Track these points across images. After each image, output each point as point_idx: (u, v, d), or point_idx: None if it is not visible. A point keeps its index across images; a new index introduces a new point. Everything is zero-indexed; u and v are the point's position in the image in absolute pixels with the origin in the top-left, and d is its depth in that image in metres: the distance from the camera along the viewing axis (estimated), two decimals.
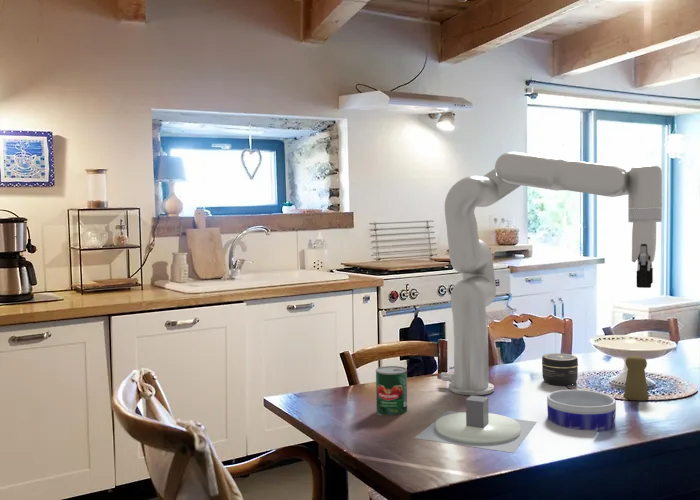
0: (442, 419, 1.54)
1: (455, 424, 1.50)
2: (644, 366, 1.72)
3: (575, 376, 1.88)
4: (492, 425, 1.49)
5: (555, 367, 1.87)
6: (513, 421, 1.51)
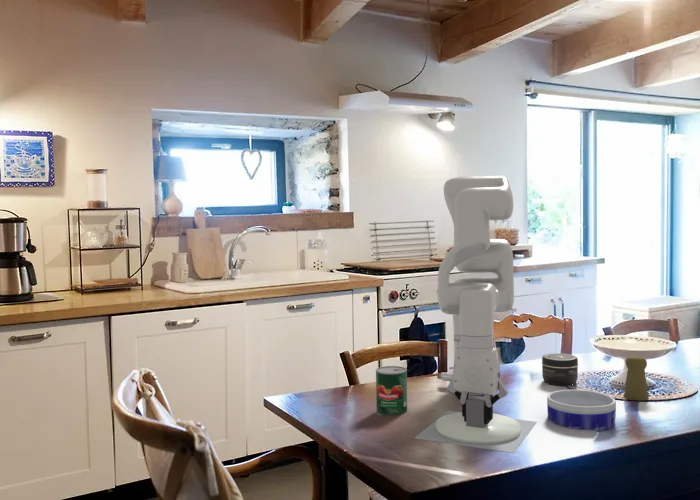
0: (442, 419, 1.54)
1: (455, 424, 1.50)
2: (644, 366, 1.72)
3: (575, 376, 1.88)
4: (492, 425, 1.49)
5: (555, 367, 1.87)
6: (513, 421, 1.51)
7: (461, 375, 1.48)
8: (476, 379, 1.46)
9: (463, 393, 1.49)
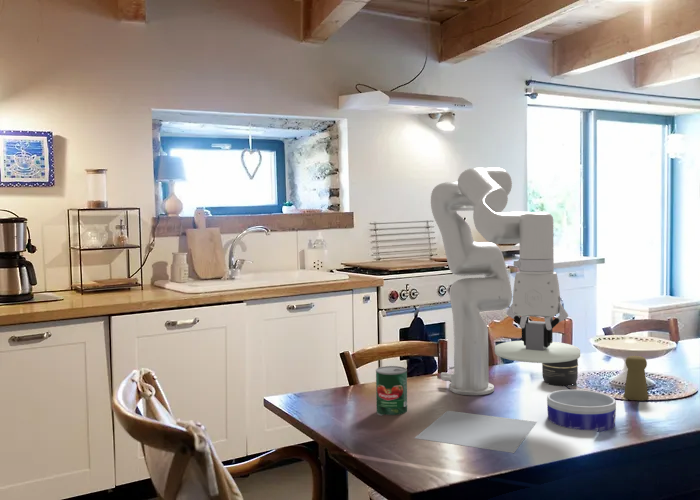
0: (500, 345, 1.56)
1: (515, 348, 1.52)
2: (644, 366, 1.72)
3: (575, 376, 1.88)
4: (551, 349, 1.51)
5: (555, 367, 1.87)
6: (572, 346, 1.53)
7: (521, 299, 1.50)
8: (536, 302, 1.49)
9: (523, 317, 1.52)
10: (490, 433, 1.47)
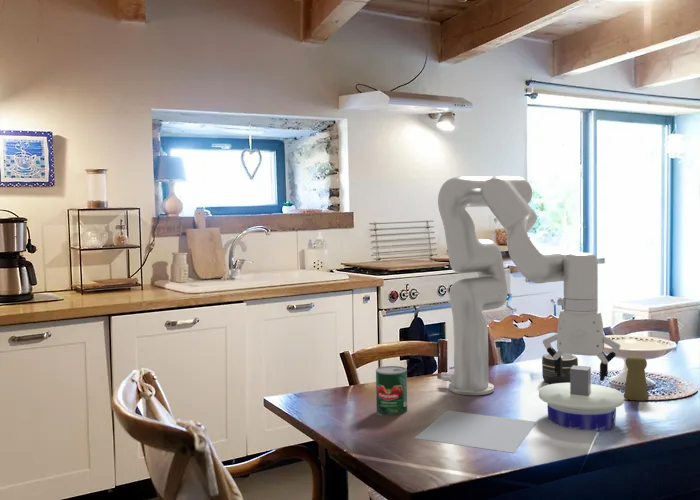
0: (543, 388, 1.59)
1: (559, 393, 1.55)
2: (644, 366, 1.72)
3: None
4: (595, 393, 1.54)
5: None
6: (614, 390, 1.57)
7: (566, 337, 1.53)
8: (582, 341, 1.52)
9: (560, 351, 1.55)
10: (490, 433, 1.47)
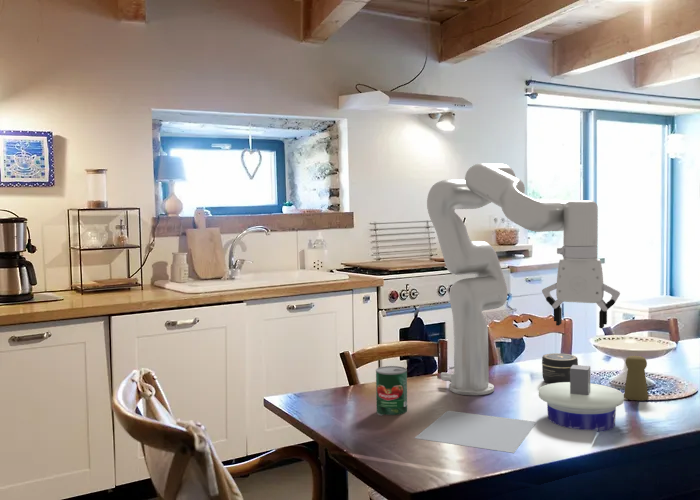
0: (543, 388, 1.59)
1: (559, 392, 1.55)
2: (644, 366, 1.72)
3: None
4: (595, 393, 1.54)
5: (555, 367, 1.87)
6: (613, 389, 1.57)
7: (566, 285, 1.53)
8: (581, 288, 1.51)
9: (560, 300, 1.55)
10: (490, 433, 1.47)
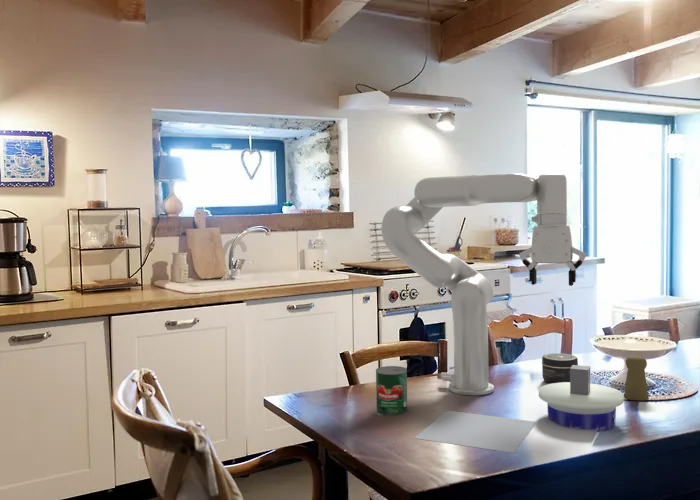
0: (543, 388, 1.59)
1: (559, 392, 1.55)
2: (644, 366, 1.72)
3: None
4: (595, 393, 1.54)
5: (555, 367, 1.87)
6: (613, 389, 1.57)
7: (539, 248, 1.73)
8: (552, 250, 1.72)
9: (534, 261, 1.76)
10: (490, 433, 1.47)
